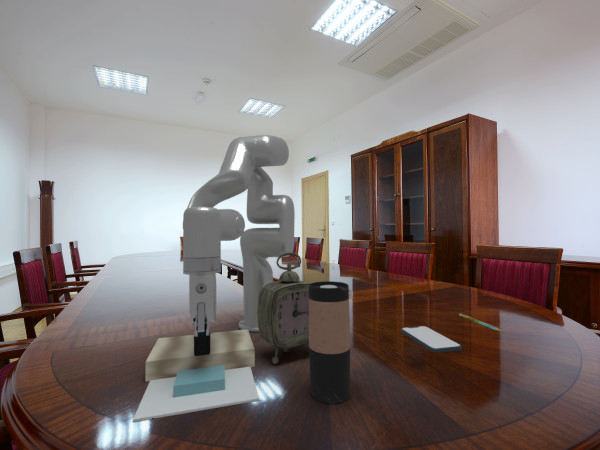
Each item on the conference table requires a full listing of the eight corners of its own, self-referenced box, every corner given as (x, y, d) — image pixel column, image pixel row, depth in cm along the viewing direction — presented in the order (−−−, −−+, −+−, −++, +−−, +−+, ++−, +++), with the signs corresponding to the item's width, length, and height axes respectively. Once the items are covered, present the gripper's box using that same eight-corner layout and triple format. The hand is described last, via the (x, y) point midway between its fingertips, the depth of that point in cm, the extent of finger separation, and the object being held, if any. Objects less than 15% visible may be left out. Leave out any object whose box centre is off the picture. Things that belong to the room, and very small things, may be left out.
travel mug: (307, 383, 57) (306, 281, 58) (345, 381, 58) (343, 280, 59) (312, 406, 50) (310, 288, 50) (356, 403, 50) (354, 287, 51)
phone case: (464, 352, 73) (425, 330, 89) (464, 346, 73) (425, 325, 89) (433, 356, 71) (398, 333, 87) (433, 349, 71) (398, 327, 87)
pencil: (504, 333, 85) (461, 316, 103) (504, 329, 85) (461, 313, 103) (500, 333, 85) (458, 316, 103) (500, 330, 85) (458, 313, 103)
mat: (250, 368, 64) (250, 366, 64) (258, 400, 52) (258, 398, 52) (150, 382, 59) (150, 380, 59) (132, 422, 46) (132, 419, 46)
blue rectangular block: (225, 378, 55) (225, 389, 55) (224, 365, 60) (224, 374, 60) (173, 386, 52) (173, 397, 52) (177, 371, 58) (177, 381, 58)
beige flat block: (247, 344, 78) (247, 329, 78) (254, 366, 65) (254, 348, 65) (158, 354, 72) (158, 338, 72) (145, 381, 59) (145, 361, 59)
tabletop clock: (271, 369, 64) (270, 254, 64) (254, 355, 71) (253, 252, 72) (324, 354, 71) (322, 252, 72) (304, 342, 79) (303, 250, 80)
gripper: (221, 268, 55) (221, 367, 55) (220, 261, 69) (220, 339, 69) (178, 270, 53) (178, 372, 52) (186, 263, 67) (186, 343, 67)
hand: (202, 353), depth 61 cm, fingers closed
